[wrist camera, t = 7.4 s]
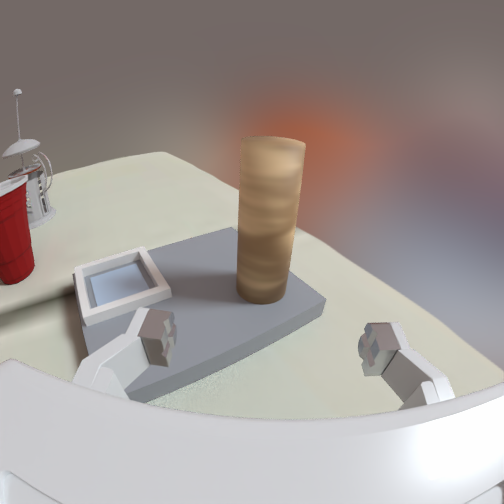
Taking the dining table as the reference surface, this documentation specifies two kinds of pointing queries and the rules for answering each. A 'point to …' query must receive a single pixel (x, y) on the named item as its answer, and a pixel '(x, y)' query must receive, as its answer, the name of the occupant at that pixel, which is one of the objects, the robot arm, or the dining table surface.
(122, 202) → the dining table surface
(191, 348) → the board
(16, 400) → the robot arm
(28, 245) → the plastic cup
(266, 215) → the oak column
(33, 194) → the french press
